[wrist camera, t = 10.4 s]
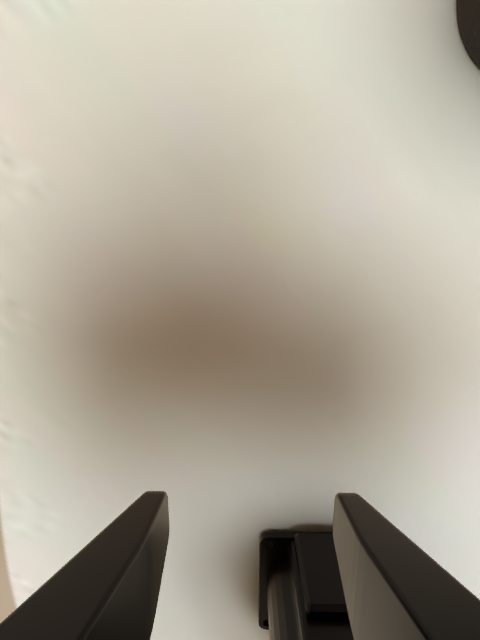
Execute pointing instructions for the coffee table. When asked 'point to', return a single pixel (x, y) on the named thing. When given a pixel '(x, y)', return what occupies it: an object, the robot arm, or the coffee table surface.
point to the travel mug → (470, 27)
